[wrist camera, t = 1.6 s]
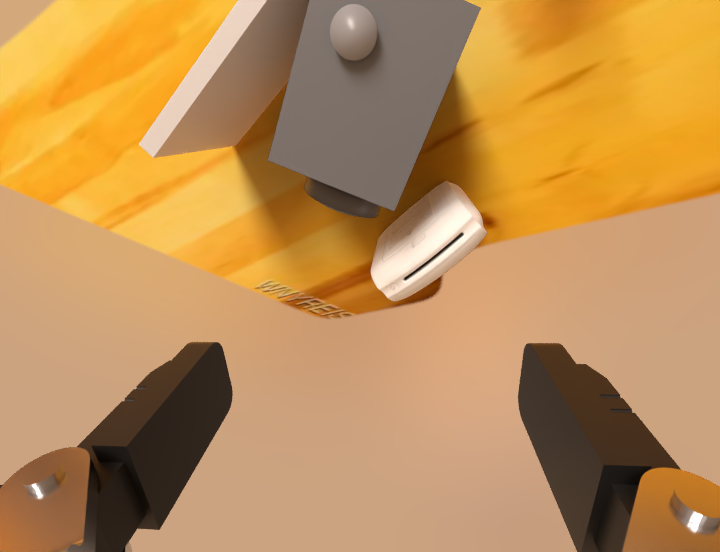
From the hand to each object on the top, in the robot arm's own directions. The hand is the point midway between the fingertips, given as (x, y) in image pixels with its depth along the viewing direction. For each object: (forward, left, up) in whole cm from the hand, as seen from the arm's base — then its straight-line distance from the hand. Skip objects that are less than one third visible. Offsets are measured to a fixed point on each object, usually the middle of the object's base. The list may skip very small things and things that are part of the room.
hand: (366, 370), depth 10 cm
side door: (+14, -6, -30) cm, 33 cm away
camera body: (+4, -5, -30) cm, 31 cm away
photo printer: (-4, +2, -31) cm, 31 cm away
